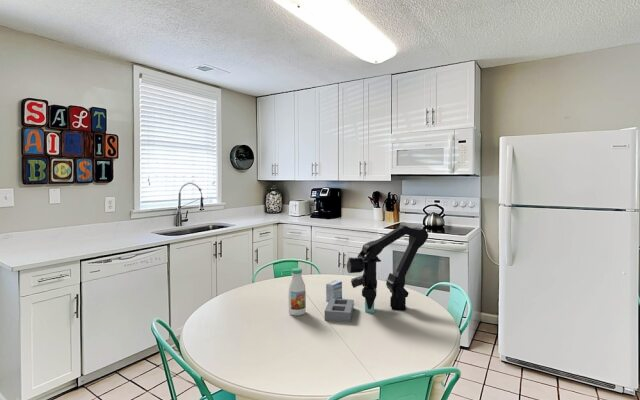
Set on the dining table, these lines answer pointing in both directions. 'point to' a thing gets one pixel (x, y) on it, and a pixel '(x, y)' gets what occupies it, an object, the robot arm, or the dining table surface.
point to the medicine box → (334, 290)
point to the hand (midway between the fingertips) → (369, 305)
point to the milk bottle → (296, 294)
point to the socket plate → (339, 310)
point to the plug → (369, 309)
